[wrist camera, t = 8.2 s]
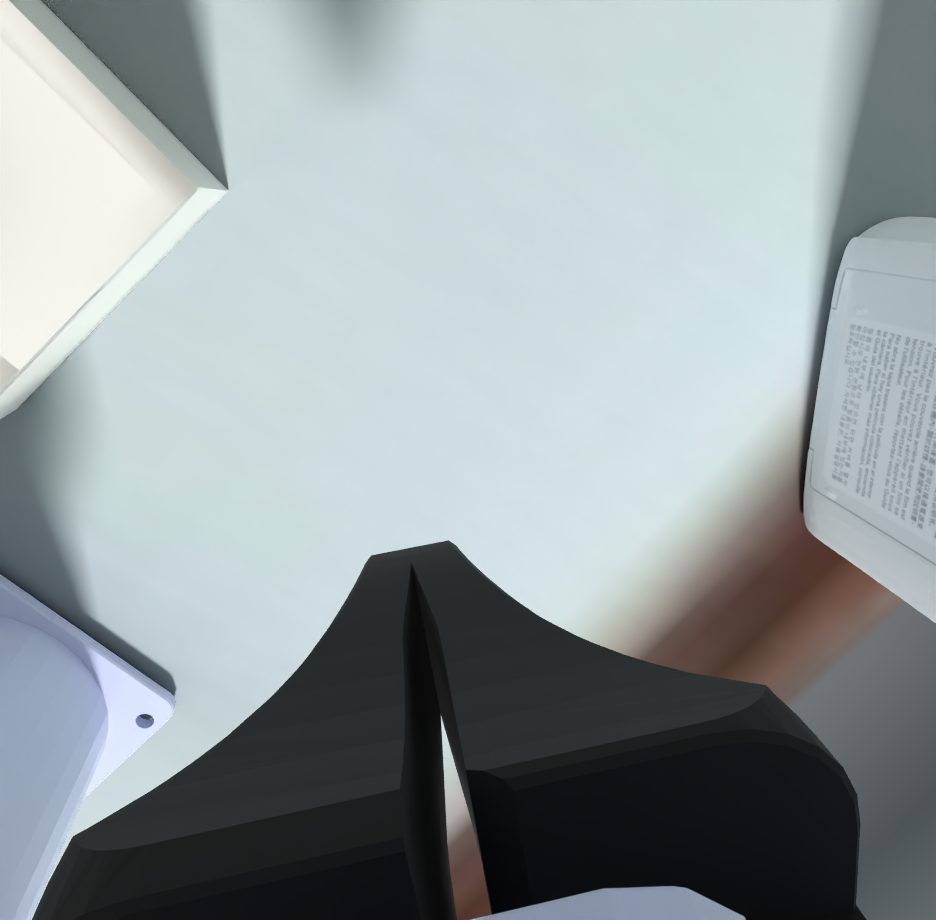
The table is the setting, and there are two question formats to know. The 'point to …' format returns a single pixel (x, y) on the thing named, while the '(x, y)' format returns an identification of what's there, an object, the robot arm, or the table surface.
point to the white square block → (77, 195)
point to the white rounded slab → (880, 412)
